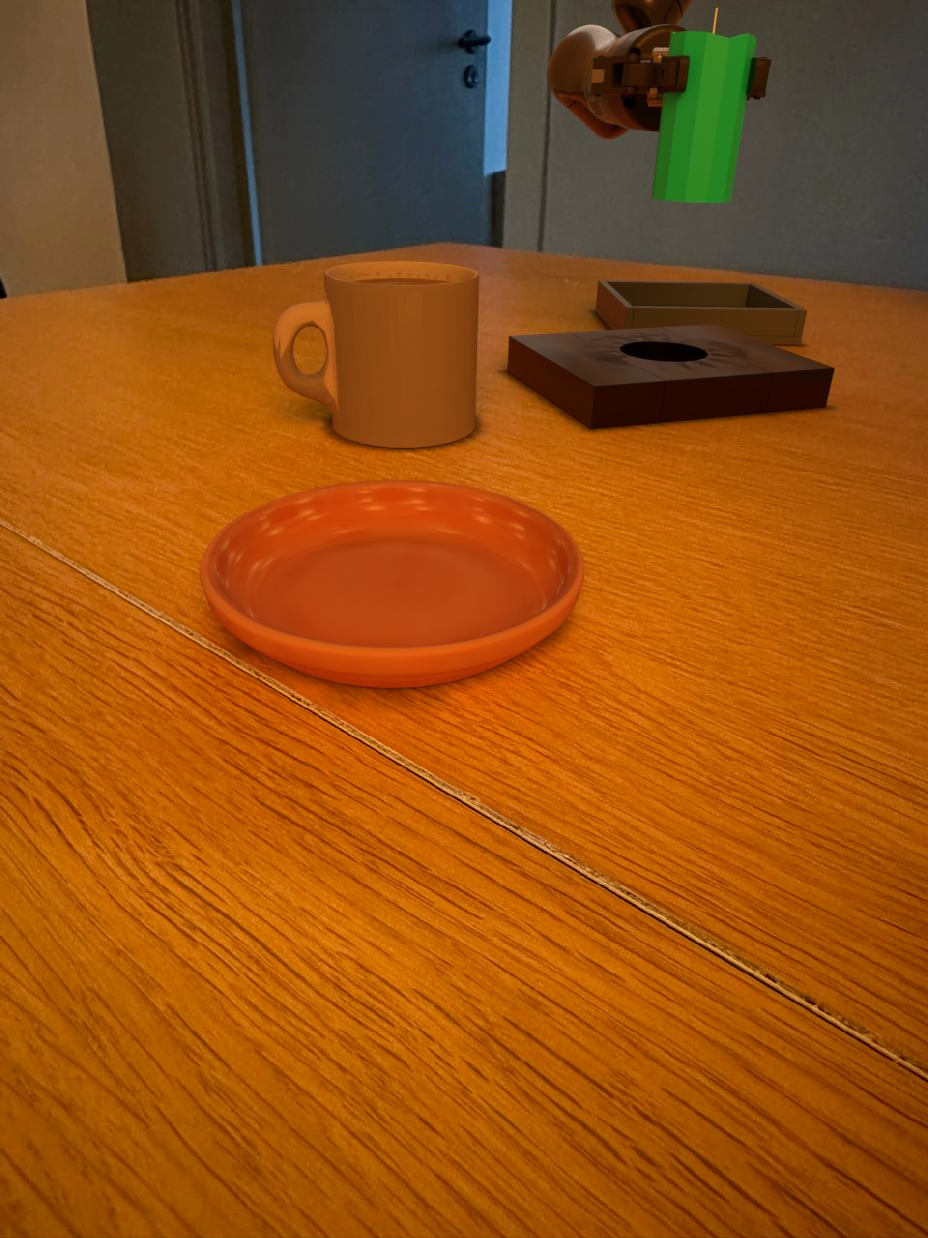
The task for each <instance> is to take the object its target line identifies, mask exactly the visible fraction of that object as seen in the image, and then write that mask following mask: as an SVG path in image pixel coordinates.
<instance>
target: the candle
mask: <svg viewBox="0 0 928 1238" xmlns="http://www.w3.org/2000/svg"><path fill="white" fill-rule="evenodd" d="M718 11H719V7H715V12H714V19H713V25H712V32H709V31H699V30H698V31H696V30H688V31H683V32H677V33H676V32H671V35H670V44H669V52H668V57H669V56H677V55H688V56H689V57H690V65H689V73H688V81H687V87H686V91H685V92H684V93H664V95H663V104H662V112H661V121H660V129H659V132H658V139H657V147H656V154H655V155H656V156H655V162H654V171H653V173H654V174H653V179H652V180H653V182H652V189H651V198H652V199H654V200H660V201H664V202H665V201H667V202H676V203H677V202H678V203H697V204H700V203H701V204H711V203H714V204H715V203H716V204H718V203H727V202H731V201H732V195H733V189H734V182H735V178H736V177H735V176H736V171H737V170H736V169H737V163H738V158H739V151H740V146H741V145H740V144H741V139H742V132H743V126H744V119H745V114H746V108H747V101H748V100H747V96H748V95H746V91H747V85H748V79H749V72H750V66H751V60H752V58H754V57H755V53H756V44H757V38H756V37H755V35H752V34H750V33H742V34H739V35H736V36H732V37H727V36H724V35H721V34H716V26H717V25H716V24H717V18H718Z"/></svg>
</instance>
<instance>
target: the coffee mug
mask: <svg viewBox="0 0 928 1238" xmlns="http://www.w3.org/2000/svg"><path fill="white" fill-rule="evenodd" d="M323 286H324V296H325V297H324V299H320V300H316V301H308V302H301V303H297V304H293V305H291V306H289V307H288V308H285V310H284V311H283V312H281V314H280V316H279V317H278V318H277V320H276V322H275V326H274V329H273V335H272V350H273V351H272V352H273V353H272V354H273V359H274V363H275V367H276V371H277V373H278V375H279V378H280V379H281V381H282V382H283V384H284V385H285V386H286V387H287V388H288V390H290V391H292V392H293V393H295V394H297V395H299V396H301V397H304V398H307V399H310V400H313V401H317V402H319V403H321V404H322V405H324V406H325V407H326V408H327V409H328V411H329V412H330V413H331V416H332V417H331V418H332V429H333V430H334V432H335V433H336V434H337V435H339V436H340V437H341V438H343V439H346V440H348V441H350V442H354V443H357V444H360V445H361V444H362V445H367V446H372V447H379V448H389V449H418V448H428V447H437V446H442V445H446V444H450V443H454V442H457V441H460V440H462V439H465V438H467V437H468V436H469V435H470V434H472V433H473V432H474V430H475V428H476V410H477V408H476V407H477V376H478V375H477V371H478V334H479V301H480V300H479V299H480V298H479V296H480V274H479V272H477V271H476V270H475V269H473V268H469V267H466V266H462V265H457V264H452V263H443V262H433V261H414V260H379V261H378V260H376V261H361V262H351V263H344V264H340V265H335V266H332V267H329V268H327V269H325V270H324V272H323ZM308 327H309V328H313V327H314V328H316V329H318V330H320V333H322V336H323V339H324V344H325V357H324V362H323V364H322V366H321V369H320V370H318V371H317V372H316V373H313V374H305V373H303V372H302V371H301V370H300V369H299V368H298V365H297V364H296V361H295V358H294V344H295V341H296V337H297V335H298V334H299V333H300V331H301V330H303V329H305V328H308Z"/></svg>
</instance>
